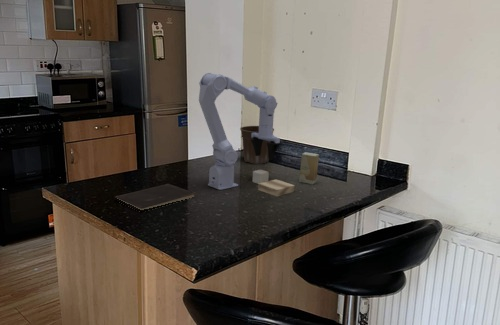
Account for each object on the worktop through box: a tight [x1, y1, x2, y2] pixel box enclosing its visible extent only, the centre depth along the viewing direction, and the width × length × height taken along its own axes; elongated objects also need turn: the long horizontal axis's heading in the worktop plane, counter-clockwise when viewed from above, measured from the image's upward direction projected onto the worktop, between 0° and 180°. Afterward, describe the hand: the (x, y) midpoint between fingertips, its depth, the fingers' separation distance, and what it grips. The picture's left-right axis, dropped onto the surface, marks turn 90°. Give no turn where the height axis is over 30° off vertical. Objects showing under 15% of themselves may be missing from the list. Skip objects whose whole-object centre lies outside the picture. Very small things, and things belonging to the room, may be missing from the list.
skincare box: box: [298, 152, 320, 185], centre depth 184 cm, size 6×4×12 cm
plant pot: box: [239, 125, 275, 165], centre depth 216 cm, size 16×16×16 cm
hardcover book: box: [114, 183, 196, 210], centre depth 159 cm, size 16×23×2 cm
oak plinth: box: [257, 178, 296, 197], centre depth 173 cm, size 10×10×3 cm
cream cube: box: [252, 169, 270, 185], centre depth 183 cm, size 5×5×5 cm
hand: (264, 157), depth 184 cm, fingers open, 7 cm apart
